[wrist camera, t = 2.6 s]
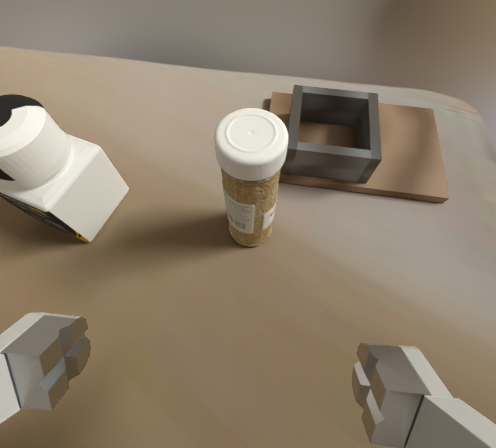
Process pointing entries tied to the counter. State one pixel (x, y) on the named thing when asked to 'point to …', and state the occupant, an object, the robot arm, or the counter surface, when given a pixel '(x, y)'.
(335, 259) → the counter surface
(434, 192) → the socket block
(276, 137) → the sprinkles bottle
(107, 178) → the medicine bottle
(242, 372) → the counter surface
